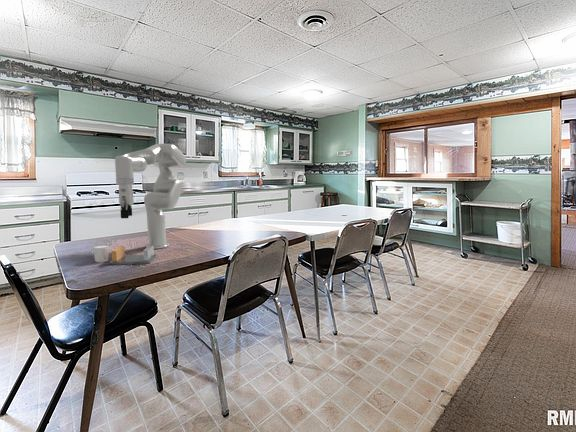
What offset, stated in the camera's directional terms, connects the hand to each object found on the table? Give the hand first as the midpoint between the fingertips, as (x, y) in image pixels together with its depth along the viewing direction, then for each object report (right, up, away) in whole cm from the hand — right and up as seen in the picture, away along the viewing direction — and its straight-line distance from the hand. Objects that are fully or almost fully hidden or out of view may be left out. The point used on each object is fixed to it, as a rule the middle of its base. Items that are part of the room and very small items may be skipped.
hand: (126, 216), depth 151 cm
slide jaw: (-3, -20, -1) cm, 21 cm away
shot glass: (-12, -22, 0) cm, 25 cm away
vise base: (+4, -22, 0) cm, 22 cm away
